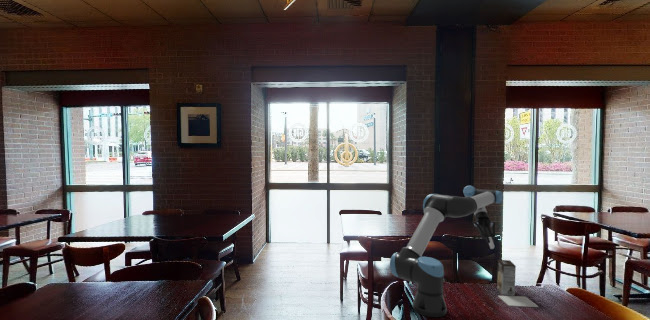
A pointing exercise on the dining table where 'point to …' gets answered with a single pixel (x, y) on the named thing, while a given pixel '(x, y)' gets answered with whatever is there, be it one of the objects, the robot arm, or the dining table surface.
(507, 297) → the mat
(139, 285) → the dining table surface
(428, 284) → the robot arm
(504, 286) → the coffee box
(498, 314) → the dining table surface
